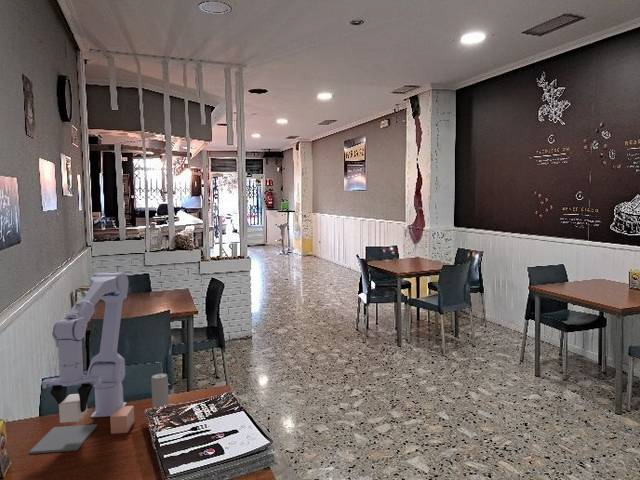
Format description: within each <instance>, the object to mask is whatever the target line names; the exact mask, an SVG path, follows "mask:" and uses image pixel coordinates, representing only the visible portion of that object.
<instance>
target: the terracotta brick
mask: <svg viewBox="0 0 640 480" xmlns="http://www.w3.org/2000/svg"><path fill="white" fill-rule="evenodd" d="M134 407H135V405H125V406H122V407H118V408H117V409H116V410H115V411H114V413H113V414H112V415H111V416H109V417H110V419H109V420H110V434H126V433H128V432H129V431H130V430H131V428H132V426H133V425H134V424H135V408H134Z"/></svg>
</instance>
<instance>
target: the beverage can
mask: <svg viewBox="0 0 640 480" xmlns="http://www.w3.org/2000/svg"><path fill="white" fill-rule="evenodd" d="M150 380H151V381H150V382H151V400H152V402H151V403H152V404H151V405H152V406H151V407H152V409H153V408H154V407H160V406H164V405H169V406H170V402H169V398H170V397H169V377H168V374H167V373H163V372H161V373H156V374H155V373H154V374H153V375H152V376H151V379H150Z"/></svg>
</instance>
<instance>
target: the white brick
mask: <svg viewBox="0 0 640 480" xmlns="http://www.w3.org/2000/svg"><path fill="white" fill-rule="evenodd" d="M58 412H59V414H58V415H59V423H60V424H62V423H73V422H75V423H76V422H79V421H80V420H81V418H83V416H84V415H86V413H87V412H88V405H87V406H86V410H85V411H84V412H81V409H80V397H79V393H72V394H71V393H70V394H69V395H68V394H67V395H66V398H65V399H64V400H63V401H62V402H61V403H60V404H59V406H58Z"/></svg>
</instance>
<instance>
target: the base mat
mask: <svg viewBox="0 0 640 480" xmlns="http://www.w3.org/2000/svg"><path fill="white" fill-rule="evenodd" d="M97 427H98V424H97V423H96V424H83V425H82V424H80V425H79V424H78V425H66V426H64V425H63V426H54V427H52V428H51V429H50V430H49V431H48V432H47V433H46V434H45V435H44V436H43V438H41V439H40V440H39V441H38V442H37V444H35V445H34V446H33V447H32V448H31V449H30V450H29V452H28V453H29V454H31V455H32V454H46V453H57V452H58V453H59V452H61V453H62V452H72V451H78V450H79V449H80V448H81V446H83V444H85V442H86V440H87V439H88V438H89V437H90V436H91V434H92V433H93V432H94V431H95V429H96V428H97Z"/></svg>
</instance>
